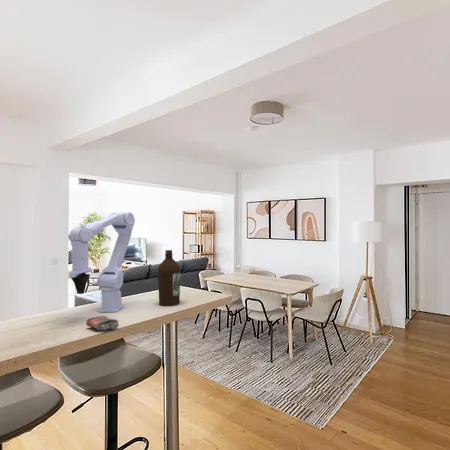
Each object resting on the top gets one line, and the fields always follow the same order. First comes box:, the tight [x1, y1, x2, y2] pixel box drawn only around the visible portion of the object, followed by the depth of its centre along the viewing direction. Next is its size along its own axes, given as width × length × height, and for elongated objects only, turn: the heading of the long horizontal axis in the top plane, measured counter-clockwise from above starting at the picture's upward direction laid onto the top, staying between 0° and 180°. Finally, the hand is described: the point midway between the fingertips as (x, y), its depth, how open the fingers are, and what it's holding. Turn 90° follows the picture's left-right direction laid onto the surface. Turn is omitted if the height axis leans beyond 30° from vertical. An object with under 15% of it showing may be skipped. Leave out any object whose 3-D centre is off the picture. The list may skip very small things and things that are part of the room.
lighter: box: [85, 315, 119, 331], centre depth 113 cm, size 8×3×10 cm
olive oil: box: [156, 249, 181, 307], centre depth 149 cm, size 11×11×25 cm
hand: (80, 293), depth 124 cm, fingers closed
